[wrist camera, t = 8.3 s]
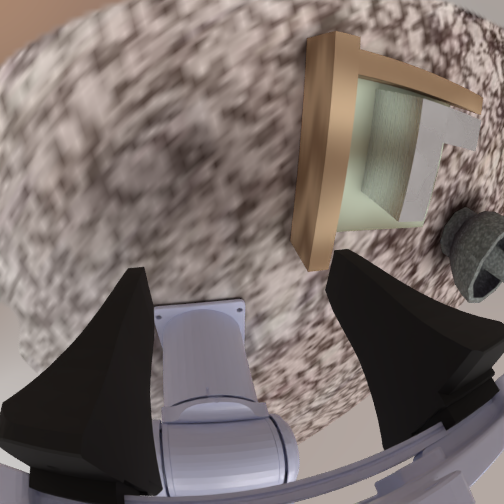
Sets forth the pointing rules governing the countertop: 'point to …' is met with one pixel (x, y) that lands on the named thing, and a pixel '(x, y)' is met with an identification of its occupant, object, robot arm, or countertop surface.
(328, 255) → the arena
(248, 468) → the robot arm
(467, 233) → the mortar and pestle
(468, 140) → the bracket
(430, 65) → the countertop surface
